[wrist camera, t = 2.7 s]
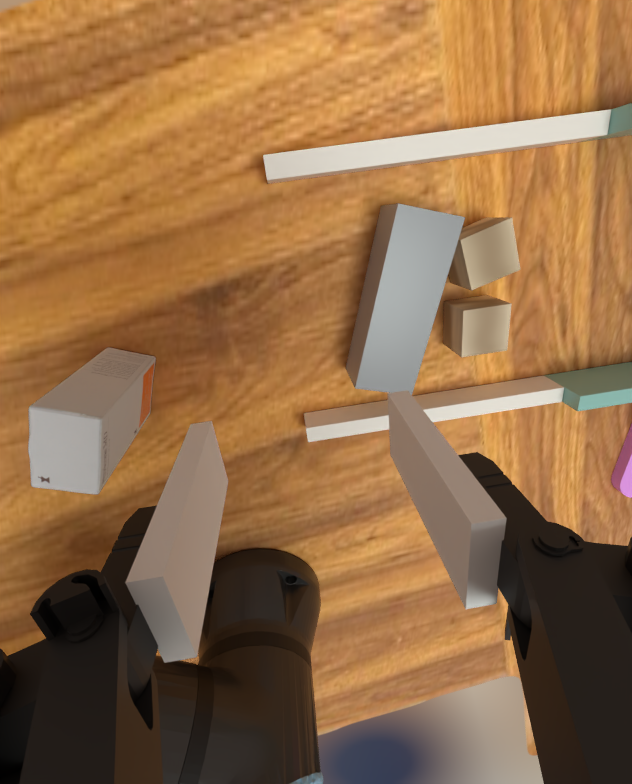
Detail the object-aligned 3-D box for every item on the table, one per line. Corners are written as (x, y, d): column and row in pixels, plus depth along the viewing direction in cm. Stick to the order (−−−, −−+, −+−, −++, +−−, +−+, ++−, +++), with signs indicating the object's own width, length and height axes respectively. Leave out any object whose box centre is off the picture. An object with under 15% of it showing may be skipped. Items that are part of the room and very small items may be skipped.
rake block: (345, 367, 36) (355, 388, 32) (380, 205, 31) (398, 203, 26) (395, 373, 37) (411, 395, 32) (437, 217, 31) (465, 217, 27)
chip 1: (450, 282, 34) (471, 290, 30) (439, 237, 32) (460, 239, 28) (493, 264, 33) (520, 269, 30) (484, 217, 32) (511, 217, 28)
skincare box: (152, 414, 36) (98, 498, 25) (104, 405, 35) (27, 489, 24) (158, 354, 34) (102, 419, 23) (106, 344, 33) (23, 406, 22)
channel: (305, 426, 38) (308, 442, 35) (264, 161, 28) (263, 155, 26) (541, 388, 39) (561, 401, 36) (580, 119, 29) (611, 109, 26)
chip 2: (442, 343, 36) (461, 357, 32) (443, 301, 34) (463, 310, 31) (483, 337, 36) (507, 350, 32) (486, 294, 34) (511, 303, 31)
